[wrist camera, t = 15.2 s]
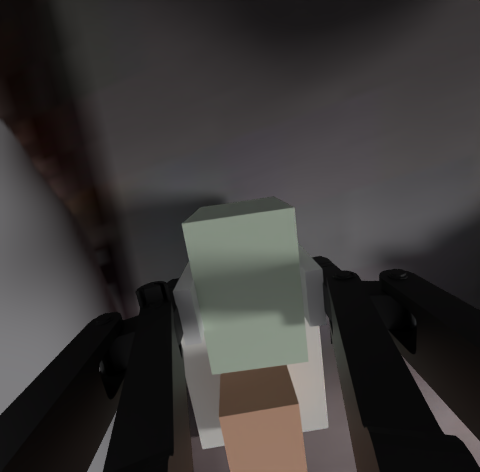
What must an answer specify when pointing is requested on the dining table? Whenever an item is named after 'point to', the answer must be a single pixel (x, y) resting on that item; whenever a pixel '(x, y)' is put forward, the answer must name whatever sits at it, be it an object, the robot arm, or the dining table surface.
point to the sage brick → (248, 283)
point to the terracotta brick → (261, 421)
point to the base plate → (208, 388)
